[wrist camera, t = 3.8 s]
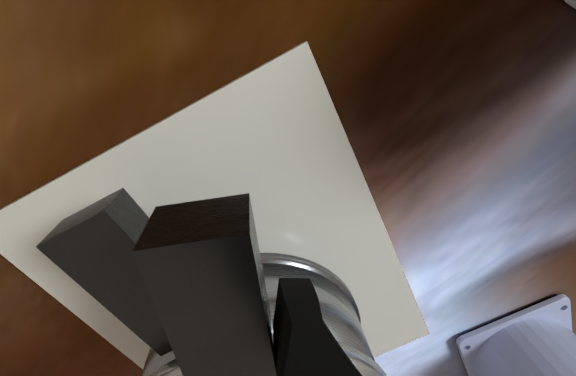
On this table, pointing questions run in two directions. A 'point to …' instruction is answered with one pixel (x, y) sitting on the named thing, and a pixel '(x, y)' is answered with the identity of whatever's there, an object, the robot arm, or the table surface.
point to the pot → (132, 289)
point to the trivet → (234, 181)
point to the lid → (213, 290)
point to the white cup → (571, 3)
